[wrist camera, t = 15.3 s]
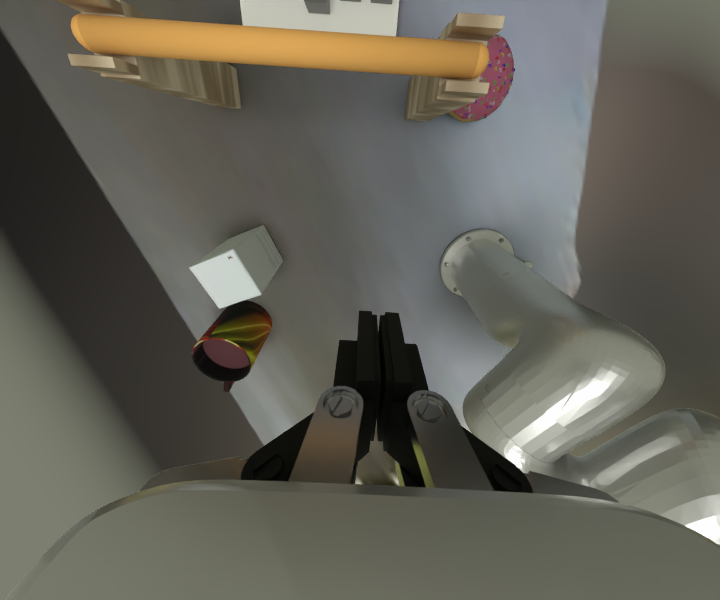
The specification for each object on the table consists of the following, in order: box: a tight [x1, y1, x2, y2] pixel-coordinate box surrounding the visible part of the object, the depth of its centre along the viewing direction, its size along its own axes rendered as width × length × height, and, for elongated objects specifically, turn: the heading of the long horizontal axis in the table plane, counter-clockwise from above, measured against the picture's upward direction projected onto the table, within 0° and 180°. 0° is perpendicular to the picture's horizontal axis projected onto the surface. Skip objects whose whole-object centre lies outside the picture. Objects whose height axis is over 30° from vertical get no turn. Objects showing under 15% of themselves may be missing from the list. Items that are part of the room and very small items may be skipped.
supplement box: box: [189, 225, 283, 309], centre depth 43 cm, size 7×7×13 cm
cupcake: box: [448, 34, 515, 122], centre depth 32 cm, size 9×8×12 cm
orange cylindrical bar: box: [71, 14, 489, 79], centre depth 20 cm, size 29×2×2 cm, turn 87°
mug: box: [192, 301, 272, 392], centre depth 52 cm, size 10×14×12 cm
